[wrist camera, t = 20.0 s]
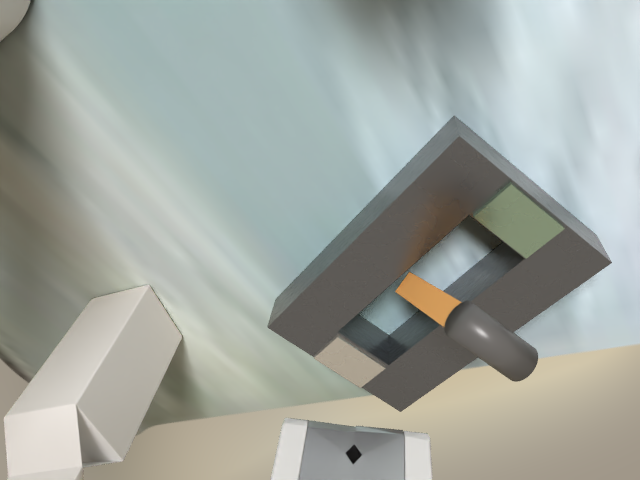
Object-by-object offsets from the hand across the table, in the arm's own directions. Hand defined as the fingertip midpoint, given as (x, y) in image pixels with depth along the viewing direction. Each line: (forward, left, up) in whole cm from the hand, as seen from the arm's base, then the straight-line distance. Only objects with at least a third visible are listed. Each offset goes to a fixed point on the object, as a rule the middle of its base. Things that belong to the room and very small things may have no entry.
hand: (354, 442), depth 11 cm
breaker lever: (+5, -19, -29) cm, 35 cm away
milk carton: (-23, -28, -33) cm, 49 cm away
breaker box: (+5, -19, -33) cm, 39 cm away
